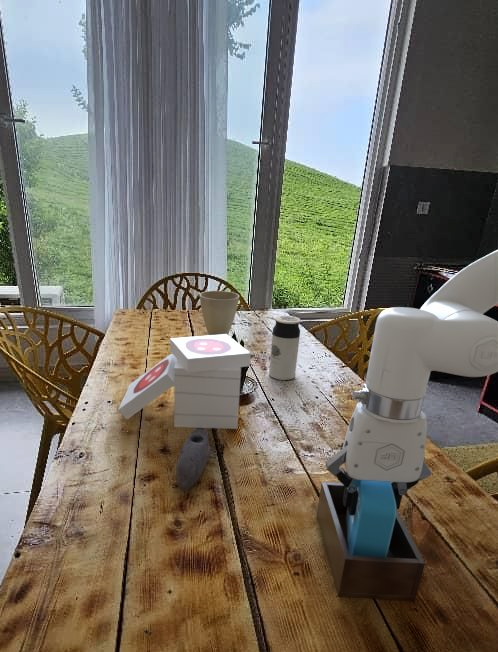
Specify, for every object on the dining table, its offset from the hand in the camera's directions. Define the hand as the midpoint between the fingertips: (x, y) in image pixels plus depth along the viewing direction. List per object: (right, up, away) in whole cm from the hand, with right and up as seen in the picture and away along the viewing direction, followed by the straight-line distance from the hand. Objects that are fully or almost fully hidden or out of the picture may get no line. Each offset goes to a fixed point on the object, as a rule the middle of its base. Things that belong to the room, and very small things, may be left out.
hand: (369, 509), depth 66 cm
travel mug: (-3, +19, +70) cm, 73 cm away
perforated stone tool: (-28, 0, +20) cm, 34 cm away
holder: (0, -8, +3) cm, 8 cm away
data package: (0, -7, +3) cm, 7 cm away
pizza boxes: (-31, +10, +45) cm, 55 cm away
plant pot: (-23, +34, +106) cm, 113 cm away
